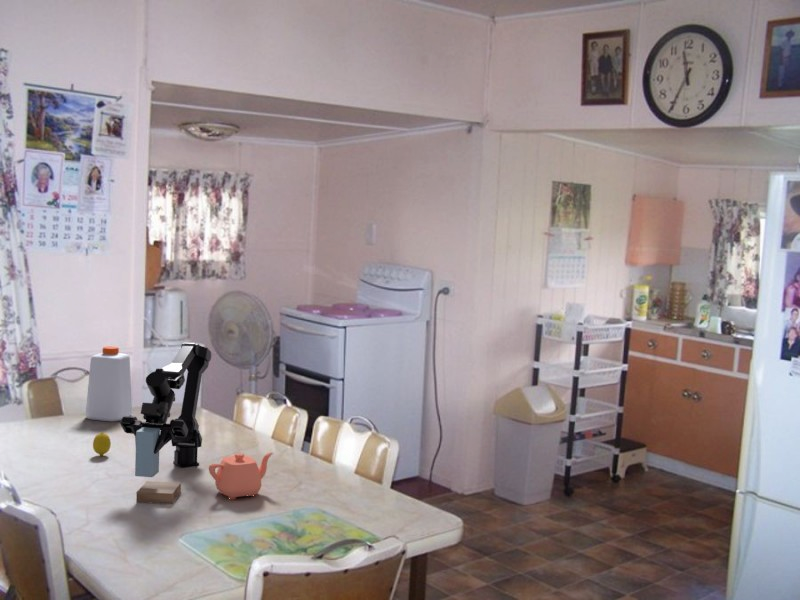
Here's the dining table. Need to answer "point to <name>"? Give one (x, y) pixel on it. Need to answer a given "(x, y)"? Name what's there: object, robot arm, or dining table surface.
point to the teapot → (239, 475)
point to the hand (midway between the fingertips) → (145, 452)
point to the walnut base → (158, 492)
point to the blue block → (146, 452)
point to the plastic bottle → (109, 386)
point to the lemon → (101, 444)
